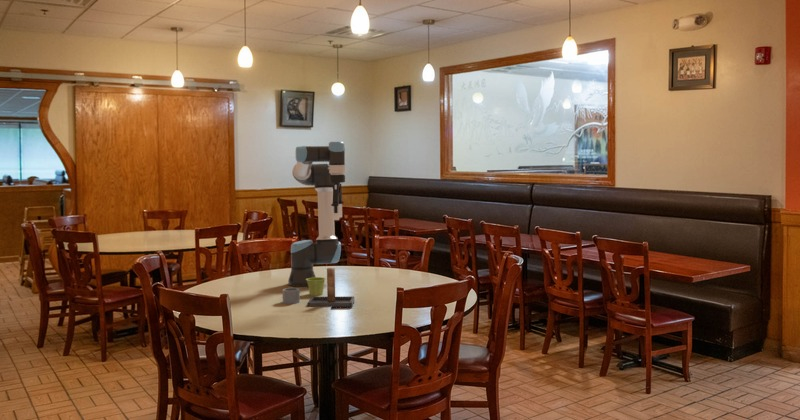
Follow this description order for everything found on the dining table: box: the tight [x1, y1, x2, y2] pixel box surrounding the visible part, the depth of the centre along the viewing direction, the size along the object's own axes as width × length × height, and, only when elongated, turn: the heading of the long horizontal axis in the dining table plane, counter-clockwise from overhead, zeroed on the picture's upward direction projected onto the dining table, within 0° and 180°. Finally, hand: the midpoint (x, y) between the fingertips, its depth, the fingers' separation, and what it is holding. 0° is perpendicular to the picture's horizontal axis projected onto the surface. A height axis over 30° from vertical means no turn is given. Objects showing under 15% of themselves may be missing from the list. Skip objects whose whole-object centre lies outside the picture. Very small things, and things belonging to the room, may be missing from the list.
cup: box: [281, 287, 301, 305], centre depth 314 cm, size 8×8×7 cm
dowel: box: [326, 267, 336, 303], centre depth 311 cm, size 4×4×16 cm
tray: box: [307, 295, 355, 309], centre depth 312 cm, size 14×20×2 cm
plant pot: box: [306, 276, 326, 297], centre depth 332 cm, size 9×9×9 cm
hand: (337, 218), depth 323 cm, fingers open, 13 cm apart
